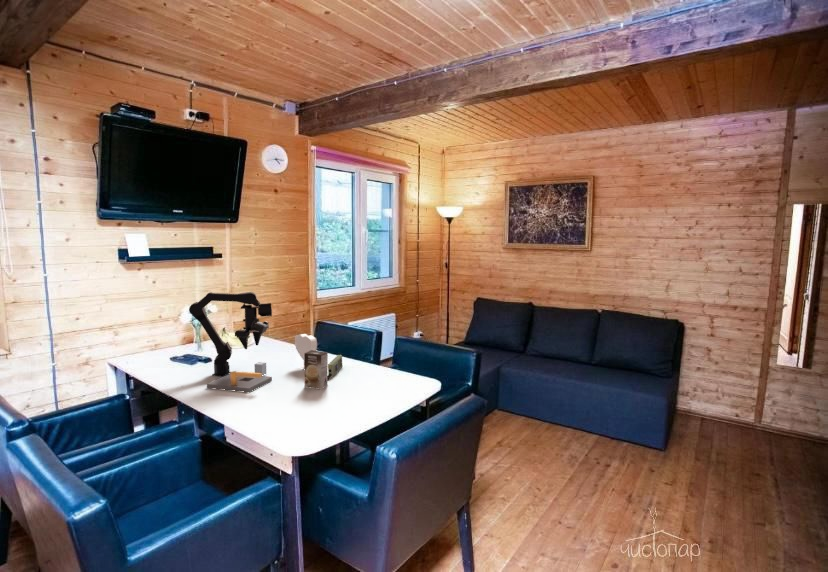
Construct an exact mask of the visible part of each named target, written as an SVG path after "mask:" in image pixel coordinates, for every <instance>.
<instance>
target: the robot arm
mask: <svg viewBox="0 0 828 572" xmlns="http://www.w3.org/2000/svg"><path fill="white" fill-rule="evenodd" d="M214 301H215V302H236V303H237V302H238V303H241V304H242V306H240V309H241V310H244V318H243V319H242V322H244V327H242V328H243V329H242V328H241V329H237V330H235V332H234V337H236V338H237V339H238V340H239V341H240V343H241V345H242V347H243V348H244V350H247V349H248V343H249V342H248V340H249V339H250V337H251V335H250V333H252V336H253V339H254V344H255V346H259V343H260V340H261V337H262V335H263V334H264V333H266V332H267V329H269V328H270V326H269V321H267V320H265V321H263V322H262V321H260V319H259V318H258V315H259V316H260V318H261V317H272V316H273V309H272V303H271V302H267V303H261V302H260V301H259V300H258V298H257V294H256V293H255V292H253V291H249V292H248V291H247V292H241V293H240V292H239V293H228V292H227V293H223V292H221V293H220V292H211V291H210V292H208V293H207V294H206V295H205V296H204V297H203V298H201V299H200V300H199V301H195V302H194V303H192V304H191V305H189V308H188V311H189V313H190V314H191V315H192V317H193V318H195V320H197V321H198V322H199V323H200V325H201V326H202V328H203V330H204V331H205V332H206V334H207V336H208V337H209V338H210V340H211V342H212V343H213V345H214V348H215V351H216V353H217V354H216V356H215V359H214V360H213V369H214V370H213V371H214V373H212V376H214V375H215V377H224V376H227V375H229V373H230V374H231V372H232V371H230V370H231V369H230V365H229V364H230V362H229V361H228V360H229V359H231V356H232V353H233V347H232V346H230V343H229V342H228V341H227V342H225V341H223V339H222V337H221V336H220V334H219V333H218V331H217V330H216V328H215V327H214V325H213V324H212V322H211V320H210V319H209V318H208V317H209V316H208V314H207V312H206V308H205V307H206V306H207V305H208V304H210V302H211V303H212V302H214Z"/></svg>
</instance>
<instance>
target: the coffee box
mask: <svg viewBox="0 0 828 572" xmlns="http://www.w3.org/2000/svg"><path fill="white" fill-rule="evenodd" d="M328 362H329V361H328V351H320V350H316V351H314V350H311V351H308V352H306V353H304V360H303V366H304V365H305V370H304V388H309V387H311V389H316V388H319V389H318V390H322V389H324V388H326V387H327V386H328V379H327V376H328V364H329V363H328ZM323 387H324V388H323Z"/></svg>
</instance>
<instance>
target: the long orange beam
mask: <svg viewBox="0 0 828 572" xmlns="http://www.w3.org/2000/svg"><path fill="white" fill-rule="evenodd" d="M230 372H231V373H230V374H231V385H237V376H239V377H257V378H260V377H262V373H255V372H248V371H247V372H246V371H237V370H235V371H234V370H233V371H230Z"/></svg>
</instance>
